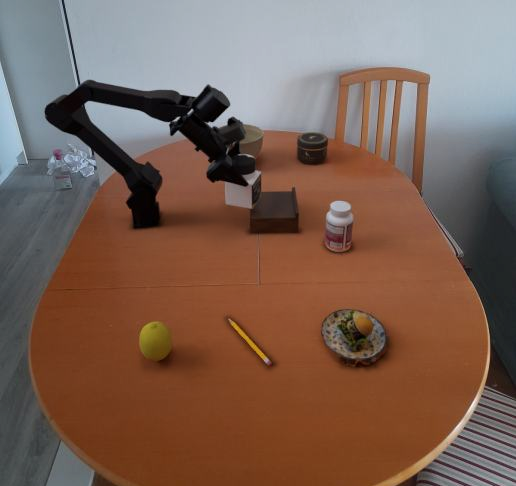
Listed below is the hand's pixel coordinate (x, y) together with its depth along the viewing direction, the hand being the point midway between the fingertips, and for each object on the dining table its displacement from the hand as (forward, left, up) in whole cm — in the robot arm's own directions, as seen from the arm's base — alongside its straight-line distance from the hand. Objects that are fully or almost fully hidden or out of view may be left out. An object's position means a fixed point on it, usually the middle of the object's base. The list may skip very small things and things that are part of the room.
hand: (248, 177), depth 109 cm
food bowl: (+13, -41, -14) cm, 45 cm away
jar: (+25, +34, -14) cm, 44 cm away
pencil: (-6, -38, -14) cm, 41 cm away
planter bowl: (+1, +35, -14) cm, 37 cm away
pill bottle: (+19, -13, -14) cm, 27 cm away
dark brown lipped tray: (+6, +1, -13) cm, 15 cm away
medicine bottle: (-1, 0, -7) cm, 7 cm away
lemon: (-22, -39, -14) cm, 47 cm away
